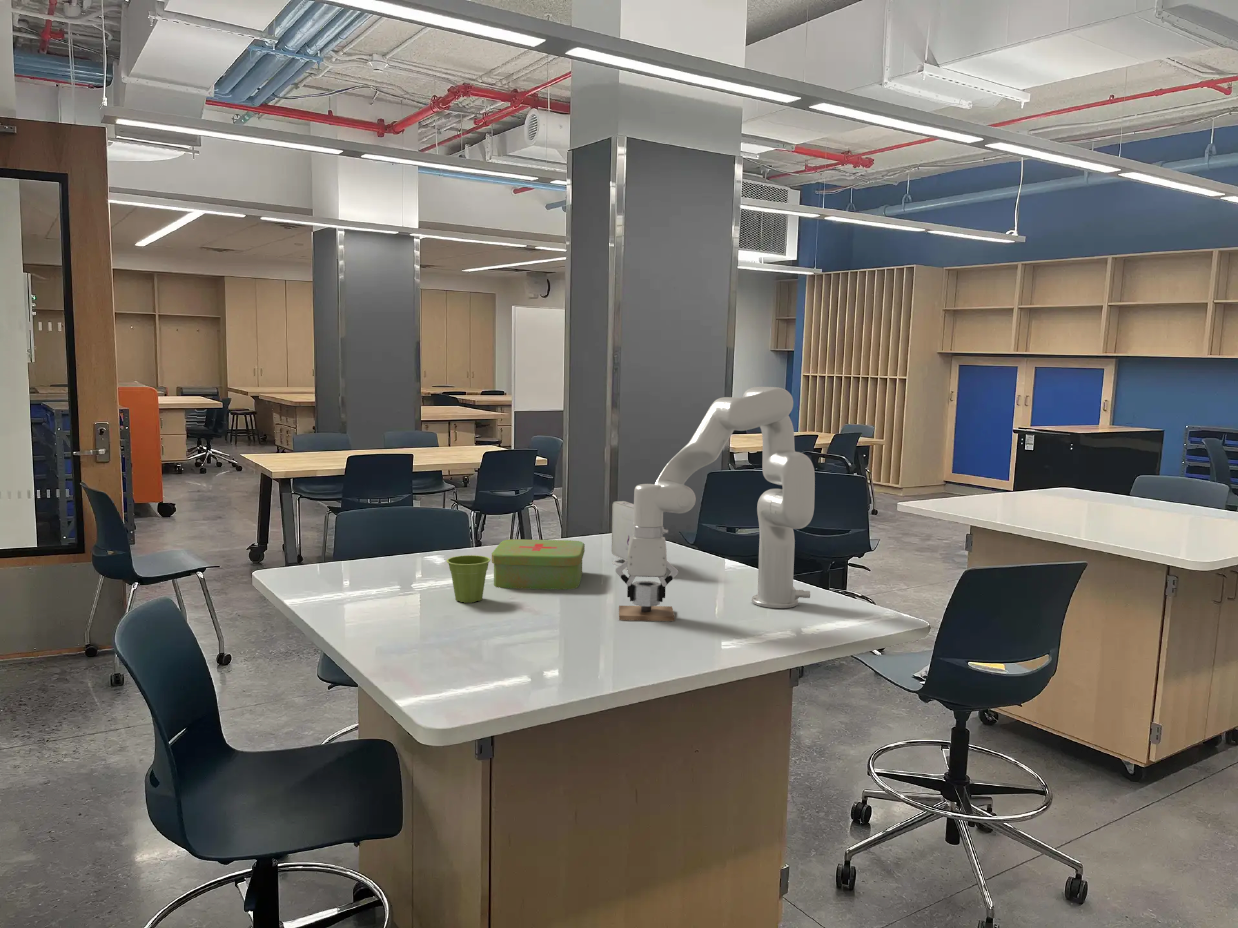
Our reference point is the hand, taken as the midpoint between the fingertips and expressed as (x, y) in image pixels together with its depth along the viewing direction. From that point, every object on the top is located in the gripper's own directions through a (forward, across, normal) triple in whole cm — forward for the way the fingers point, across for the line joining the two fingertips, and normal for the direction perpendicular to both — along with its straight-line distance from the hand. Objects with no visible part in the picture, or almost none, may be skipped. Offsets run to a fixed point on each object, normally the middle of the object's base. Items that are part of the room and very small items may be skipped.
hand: (646, 599), depth 231 cm
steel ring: (+1, 0, 0) cm, 1 cm away
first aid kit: (+5, +31, -40) cm, 51 cm away
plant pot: (+5, +48, -13) cm, 50 cm away
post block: (+4, 0, 0) cm, 4 cm away
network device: (+4, +2, -60) cm, 60 cm away
